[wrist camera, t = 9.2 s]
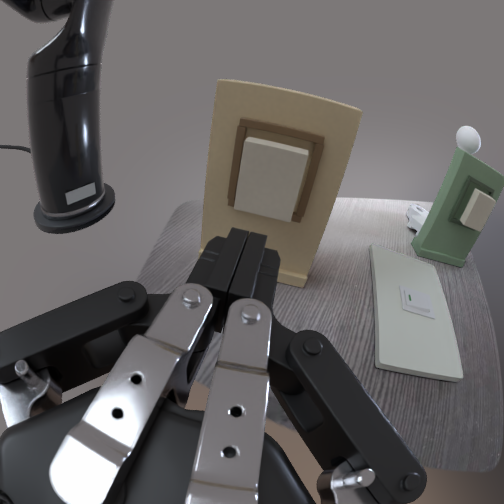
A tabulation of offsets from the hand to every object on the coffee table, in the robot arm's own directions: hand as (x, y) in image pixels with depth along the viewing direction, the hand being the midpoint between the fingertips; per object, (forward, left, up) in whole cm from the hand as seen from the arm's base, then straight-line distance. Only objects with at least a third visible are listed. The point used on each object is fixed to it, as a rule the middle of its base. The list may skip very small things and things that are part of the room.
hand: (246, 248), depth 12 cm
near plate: (-5, +10, -10) cm, 15 cm away
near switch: (-3, +7, -3) cm, 8 cm away
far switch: (+16, +29, -3) cm, 33 cm away
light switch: (+11, +16, -10) cm, 22 cm away
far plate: (+15, +31, -10) cm, 36 cm away
